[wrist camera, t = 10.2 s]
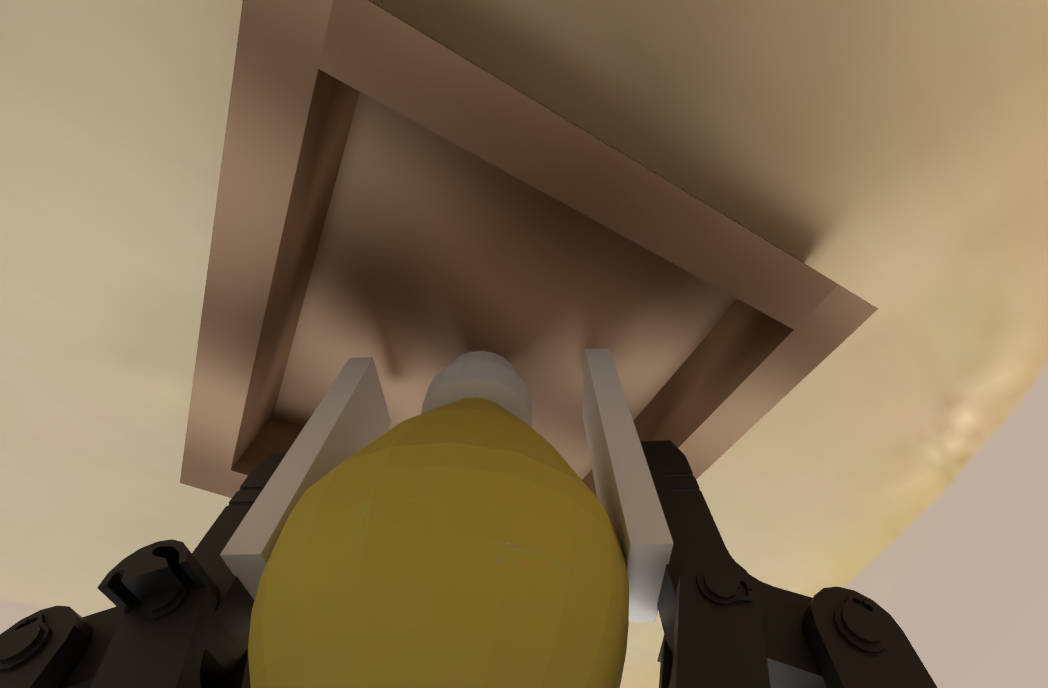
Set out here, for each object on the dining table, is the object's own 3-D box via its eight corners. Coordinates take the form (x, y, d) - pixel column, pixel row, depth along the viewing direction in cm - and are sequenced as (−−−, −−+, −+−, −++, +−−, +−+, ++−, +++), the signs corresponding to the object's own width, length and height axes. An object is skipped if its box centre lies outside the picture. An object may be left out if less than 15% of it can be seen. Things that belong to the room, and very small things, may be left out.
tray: (330, -23, 10) (252, -70, 7) (804, 263, 14) (878, 308, 11) (237, 418, 18) (179, 482, 15) (564, 528, 21) (570, 596, 18)
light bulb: (342, 390, 14) (61, 862, 5) (457, 241, 11) (257, 707, 3) (499, 477, 16) (472, 906, 8) (626, 370, 14) (800, 846, 5)
